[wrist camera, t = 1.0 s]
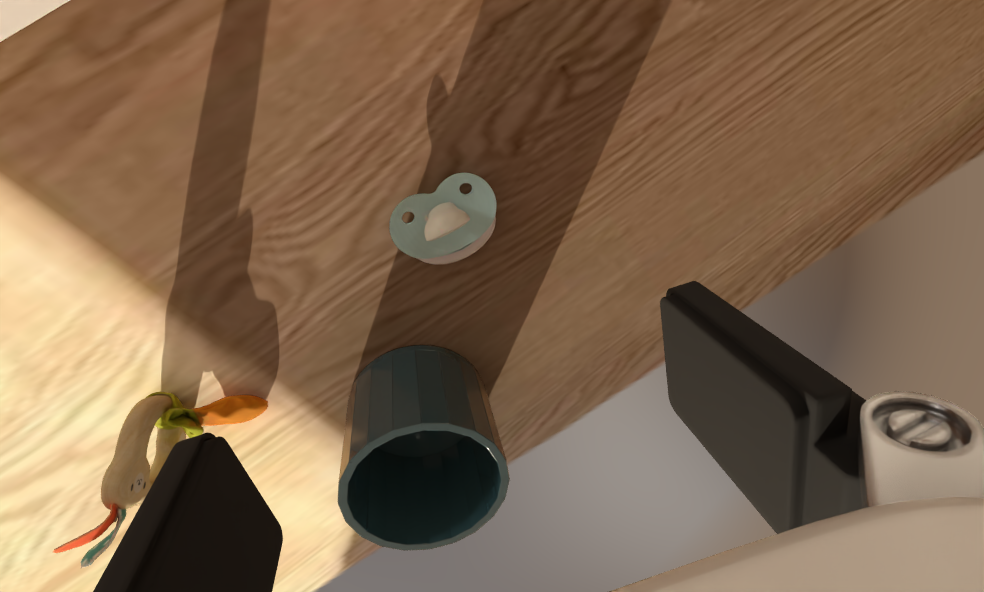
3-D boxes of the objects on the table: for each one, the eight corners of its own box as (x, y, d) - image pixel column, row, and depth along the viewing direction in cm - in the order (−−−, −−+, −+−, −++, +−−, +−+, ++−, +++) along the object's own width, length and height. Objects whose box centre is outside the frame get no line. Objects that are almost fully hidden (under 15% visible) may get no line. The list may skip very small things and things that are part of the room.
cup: (412, 318, 38) (419, 393, 30) (511, 392, 43) (541, 475, 34) (319, 413, 40) (300, 508, 32) (423, 474, 45) (431, 570, 36)
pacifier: (509, 231, 37) (475, 157, 34) (531, 265, 31) (493, 180, 28) (420, 276, 37) (378, 206, 34) (427, 317, 31) (378, 238, 28)
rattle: (250, 463, 41) (204, 598, 31) (137, 445, 38) (46, 585, 28) (272, 391, 39) (230, 511, 28) (153, 366, 36) (59, 488, 26)
